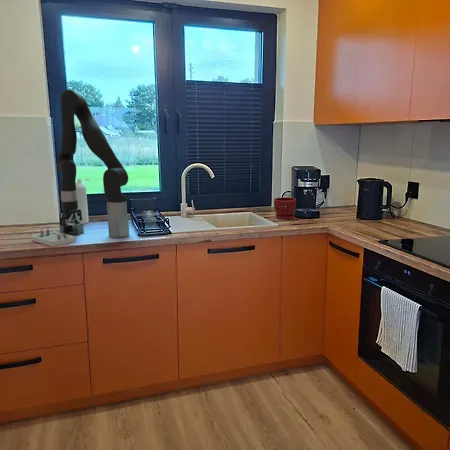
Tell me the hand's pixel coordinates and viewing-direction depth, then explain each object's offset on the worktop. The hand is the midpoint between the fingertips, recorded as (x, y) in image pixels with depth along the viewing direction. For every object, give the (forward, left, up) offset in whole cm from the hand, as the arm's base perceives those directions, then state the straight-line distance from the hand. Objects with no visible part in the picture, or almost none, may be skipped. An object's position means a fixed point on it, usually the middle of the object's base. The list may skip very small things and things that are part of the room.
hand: (72, 231), depth 209 cm
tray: (-6, +13, -1) cm, 15 cm away
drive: (0, 0, -1) cm, 1 cm away
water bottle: (+18, -20, -1) cm, 26 cm away
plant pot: (-65, -101, -1) cm, 120 cm away
